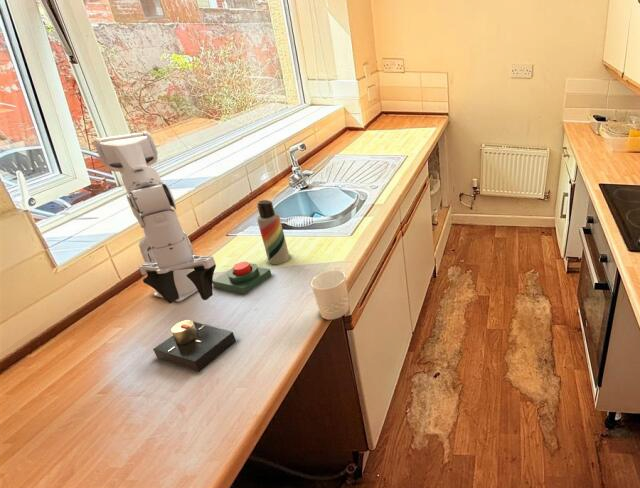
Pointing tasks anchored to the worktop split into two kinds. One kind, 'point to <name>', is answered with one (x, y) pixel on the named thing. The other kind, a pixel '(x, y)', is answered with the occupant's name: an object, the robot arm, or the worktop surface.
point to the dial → (184, 332)
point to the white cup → (331, 294)
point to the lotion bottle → (272, 233)
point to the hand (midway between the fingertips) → (191, 299)
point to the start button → (241, 268)
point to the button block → (242, 280)
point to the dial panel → (196, 348)
